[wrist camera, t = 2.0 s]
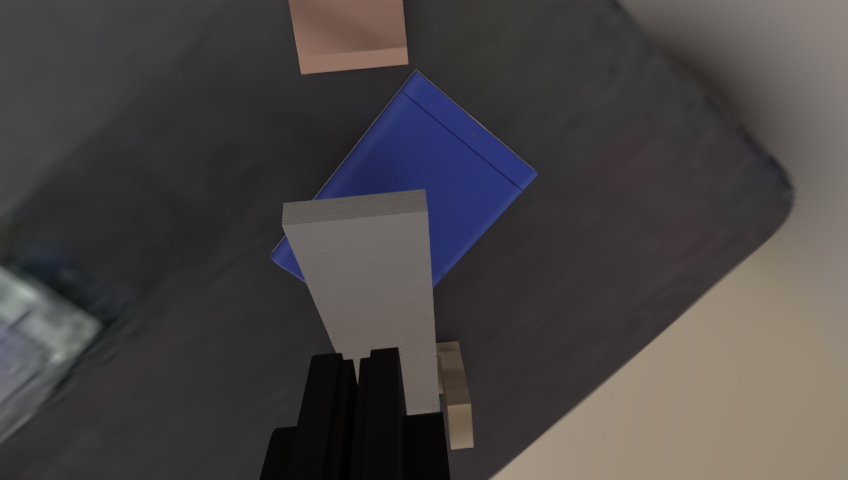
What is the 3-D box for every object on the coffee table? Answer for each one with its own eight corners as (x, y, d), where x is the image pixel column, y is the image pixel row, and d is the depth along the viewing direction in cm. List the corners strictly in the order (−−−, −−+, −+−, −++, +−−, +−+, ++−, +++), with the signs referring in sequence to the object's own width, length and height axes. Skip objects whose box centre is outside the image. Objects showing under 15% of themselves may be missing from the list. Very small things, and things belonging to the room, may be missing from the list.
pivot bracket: (461, 380, 34) (473, 447, 29) (346, 392, 34) (339, 461, 29) (458, 340, 33) (470, 403, 28) (339, 353, 33) (330, 418, 28)
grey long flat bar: (438, 400, 31) (440, 425, 30) (367, 408, 31) (368, 433, 30) (424, 181, 16) (428, 219, 15) (284, 194, 16) (281, 234, 15)
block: (404, 48, 26) (408, 64, 20) (319, 56, 26) (301, 74, 20) (396, -37, 24) (398, -45, 19) (306, -29, 24) (282, -34, 19)
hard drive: (390, 338, 31) (540, 175, 28) (268, 259, 29) (416, 70, 25) (390, 323, 33) (532, 166, 29) (273, 247, 30) (414, 66, 27)
